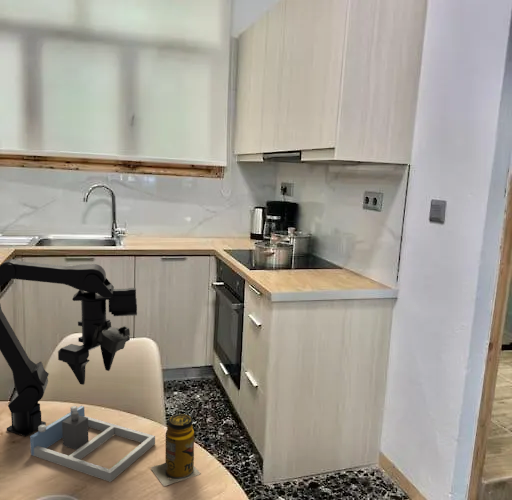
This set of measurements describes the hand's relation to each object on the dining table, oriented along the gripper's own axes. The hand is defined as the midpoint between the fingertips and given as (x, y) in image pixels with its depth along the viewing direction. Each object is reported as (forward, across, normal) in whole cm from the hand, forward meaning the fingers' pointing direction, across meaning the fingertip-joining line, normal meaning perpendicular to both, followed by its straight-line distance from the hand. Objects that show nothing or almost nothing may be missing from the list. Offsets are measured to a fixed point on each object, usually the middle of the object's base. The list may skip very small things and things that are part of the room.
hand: (95, 377), depth 126 cm
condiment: (+12, -9, -29) cm, 33 cm away
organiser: (+12, -10, -8) cm, 17 cm away
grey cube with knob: (+12, -10, -2) cm, 16 cm away
